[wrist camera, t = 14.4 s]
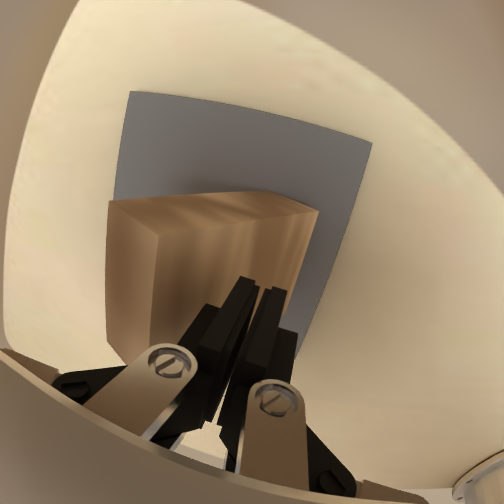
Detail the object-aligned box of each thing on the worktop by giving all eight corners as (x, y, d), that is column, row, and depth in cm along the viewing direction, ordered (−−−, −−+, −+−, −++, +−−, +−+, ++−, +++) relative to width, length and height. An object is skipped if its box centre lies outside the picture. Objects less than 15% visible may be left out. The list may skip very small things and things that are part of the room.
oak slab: (318, 211, 15) (158, 236, 8) (284, 313, 17) (147, 388, 10) (269, 190, 16) (108, 200, 9) (243, 287, 19) (106, 339, 12)
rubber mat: (371, 143, 15) (372, 143, 14) (295, 356, 20) (294, 359, 20) (133, 91, 16) (130, 91, 16) (111, 289, 22) (109, 291, 21)
